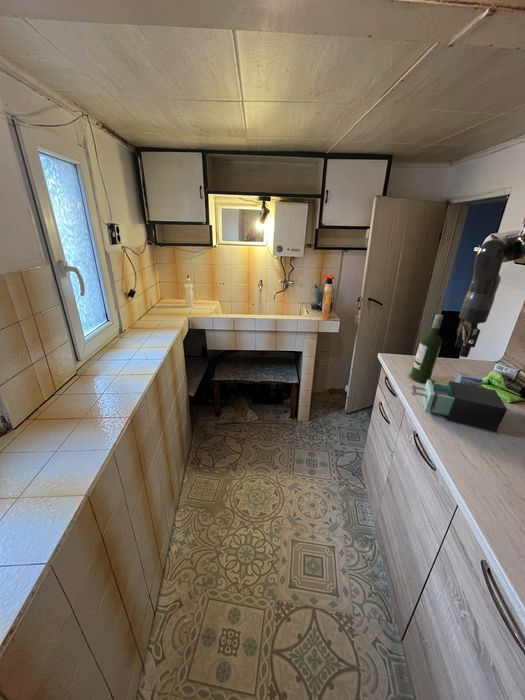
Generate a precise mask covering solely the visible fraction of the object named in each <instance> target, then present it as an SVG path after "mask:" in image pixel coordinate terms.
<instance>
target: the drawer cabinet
mask: <svg viewBox="0 0 525 700" xmlns="http://www.w3.org/2000/svg"><path fill="white" fill-rule="evenodd" d="M447 385H450V387H451V390H452V393H453V395H454V398H455V399H454V402H453V404H452V407H451V409H450V412H449V415H448V416H447V415H445V419H446V421H448V422H453V423H457V424H460V425H464V426H469V427H473V428H476V429H480V430H485V431H490V432H492V433H493V432H494V433H497V431H498V429H499V427H500V425H501V423H502V421H503V419H504V418H505V415H506V413H507V411H508V408H507V406H506V405H505V403H504V402H503V400H502V398H501V397H500V395H499V393H498V392H497V391H496V389H489V388H486V387H482V386H481V387H477V386H472V385H467V384H462V383H457V382H455V381H453V380H452V381H451V380H449V381H448V384H447Z"/></svg>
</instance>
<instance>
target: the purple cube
mask: <svg viewBox="0 0 525 700" xmlns="http://www.w3.org/2000/svg"><path fill="white" fill-rule="evenodd" d="M434 394H435V396H434V398H433V401H432V406H434V405H435V402H436V399H437V396H438V394H440V395H444V396H449V395H448V393H445V392H441V391H436V390H434Z"/></svg>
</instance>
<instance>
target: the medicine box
mask: <svg viewBox="0 0 525 700" xmlns="http://www.w3.org/2000/svg"><path fill="white" fill-rule="evenodd" d="M454 382H457V383H462V384H467V385H472V386H477V387H481V388H482V385H483V383H484V379H483V378H482V377H481V376H480V375H477V374H473V373H472V374H471V373H465V372H460V371H457V373H456V377H455V379H454Z"/></svg>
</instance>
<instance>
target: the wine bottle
mask: <svg viewBox="0 0 525 700" xmlns="http://www.w3.org/2000/svg"><path fill="white" fill-rule="evenodd" d="M443 319H444V315H443V314H440V313H437V314H435V316H434V319H433V323H432V325H431V328H430V331H429V332H428V333H426V334H424V335H423V336H422V337H421V338H420V341H419V345H418V348H417V351H416V355H415V358H414V362H413V364H412V367H411V372H410V375H409V376H410V378H411V380H413V381H415V382H417V383H423V384H426V383H427V380H431V377H432V375H433V372H434V369H435V365H436V363H437V359H438V356H439V354H440V350H441V347H442V344H443V340H442V338H441V336H440V335H439V333H440V328H441V325H442V321H443Z"/></svg>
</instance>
